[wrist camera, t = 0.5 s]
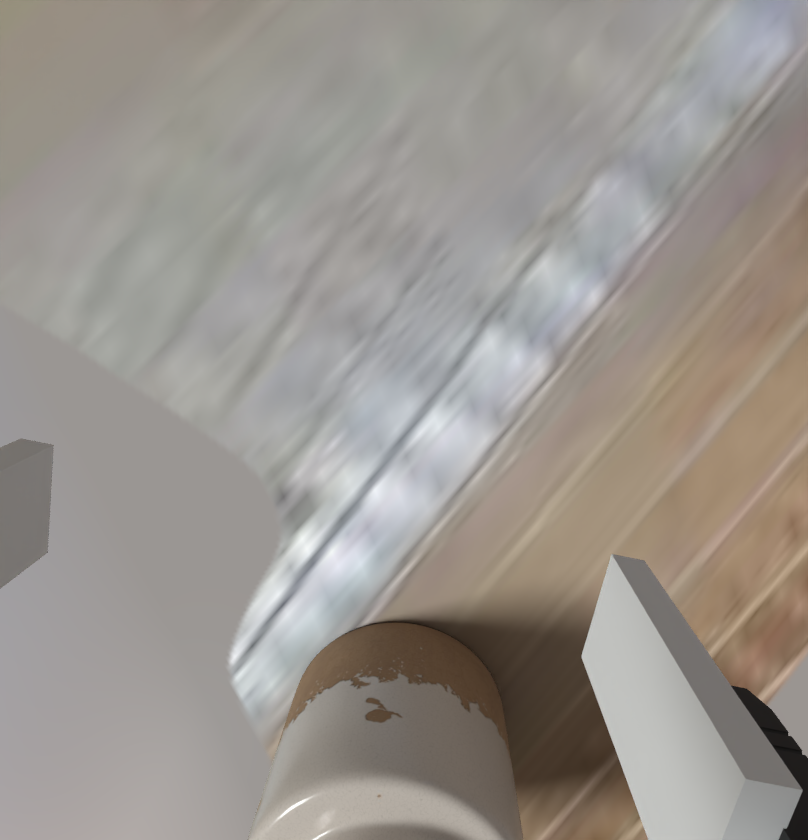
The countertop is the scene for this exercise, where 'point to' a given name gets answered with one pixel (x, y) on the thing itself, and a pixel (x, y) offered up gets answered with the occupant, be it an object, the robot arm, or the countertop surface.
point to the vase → (392, 745)
